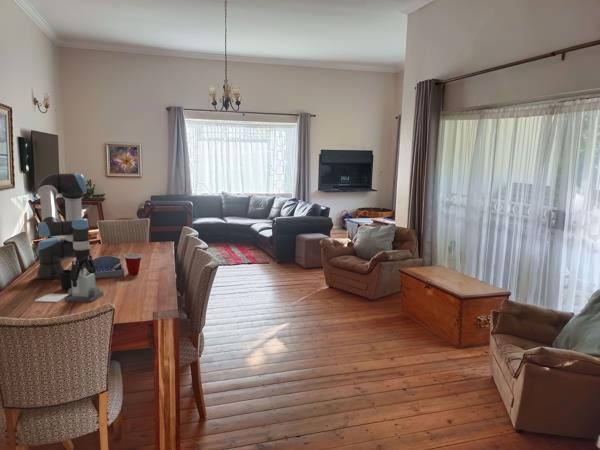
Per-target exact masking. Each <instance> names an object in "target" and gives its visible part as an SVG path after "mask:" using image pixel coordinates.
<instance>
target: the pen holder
mask: <svg viewBox="0 0 600 450" xmlns="http://www.w3.org/2000/svg"><path fill="white" fill-rule="evenodd" d="M70 273H71V269H64V270H62V271H60V278H59V279H60V286H61V290H63V291H68V289H70V288H72V283H71V280H69V277H70Z"/></svg>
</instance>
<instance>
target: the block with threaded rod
mask: <svg viewBox="0 0 600 450" xmlns="http://www.w3.org/2000/svg"><path fill="white" fill-rule="evenodd" d="M86 273H87V269H86V267H85V266H84V267H83V268H82V269H81V271H80V277H86ZM95 287H96V286H95ZM67 294H68V295H67V296H65V297H64V299H63V301H65V302H85V303H92V302H94V301H95V300H97V299H98V298H101V297H103V296H104V290H101V289H100V287H96V288H94V289H92V290H91V295H90V296H88V297H82V296H72V288H70V289H68V290H67Z"/></svg>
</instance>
